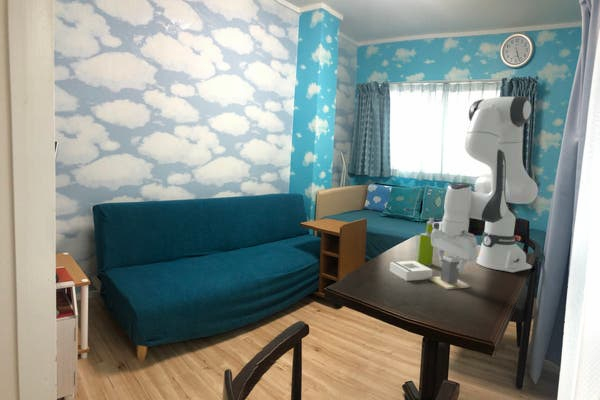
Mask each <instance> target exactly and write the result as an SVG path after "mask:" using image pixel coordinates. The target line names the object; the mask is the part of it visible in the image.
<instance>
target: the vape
mask: <svg viewBox="0 0 600 400" xmlns="http://www.w3.org/2000/svg"><path fill="white" fill-rule="evenodd" d="M434 222H435V220H434V217H429V220H428V221H426V231H425V232H421V233H419V243H418V244H419V245H418V255H417V262H418V263H420V264H422V265H424V266H426V267H428V266H432V265H433V257H434V256H433V255H434V247H433V246H432V244H431V234H432V230H433V229H434V228H433V227H432V224H433V223H434Z"/></svg>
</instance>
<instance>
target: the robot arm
mask: <svg viewBox="0 0 600 400" xmlns="http://www.w3.org/2000/svg"><path fill="white" fill-rule="evenodd" d="M531 113H532V103H531V101H530V99H529V98H528V97H527V96H521V95H516V96H499V97H493V98H487V99H485V98H484V99H483V98H481V99H478V100H475V101H474V102H473V103H472V104H471V106H470V107H469V110H468V119H469V121H470V123H469V125H468V129H467V132H466V136H465V141H464V142H465V143H464V148H465V151H466V152H467V154H468V155H469V156H470V157H471V158H472V159H474V160H476V161H478V162H480V163H483V164H485V165H487V166H488V167H489V168H490V171H491V173H488V174H481V175H479V176H478V177H477V179H476V181H475V183H474V191H472V185H470V184H469V183H466V182H453V183H451V184H448V186H447V189H446V192H445V197H444V204H443V209H444V214H443V216H442V221H433V222H434V223H433V224H432V227H433V228H434V229H433V230H432V234H431V244H432V246H433V248H435V249H437V254H438V256H439V257H438V261H440V262H442V263H443V256H445V252H446V253H448V254H451V256H454V257H457V258H459V259H460V262H459V264H457V269H459V271H463V270H464V269H465V266H466V264H467V262H470V261H471V262H472V261H476V264H477V265H479V266H481V267H484V268H488V269H493V270H497V271H498V270H499V271H504V272H509V273H516V272H521V271H525V270H530V269H532V268H533V267H532V265H531V264H529V263H528V262H527V254H526V252H525V251H524V250H522V248H520V247H519V246H518V244H517V243H516V241H517V242H520V241H521V239H522V237H521V236H520V235H514V234H515V226H516V216H515V214H514V213H513V212H512V211H510V209H509V208H508V206H507V203H509V204H516V205H517V204H519V205H520V204H521V205H522V204H526V205H527V204H532V202H533V201H534V200H536V198H537V196H538V192H539V188H538V184H537V182H536V181H535V180H534V179H532V177H530V175H529V174H528V173H527V170H526V169H525V166H524V162H523V138H524V136H523V125H524V124H526V122H528V120H529V119H530V116H531ZM470 219H476V220H481V221H484V223H485V224H484V230H483V232H482V242H481V245H480V248H479V253H478V243H477V241H478V239H477V238H476V236H475V234H474V233H471V232H469V228H470V227H469V226H470V225H469V224H470Z"/></svg>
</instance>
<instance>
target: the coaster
mask: <svg viewBox="0 0 600 400" xmlns="http://www.w3.org/2000/svg"><path fill="white" fill-rule="evenodd" d="M428 281H431V282H432V283H434V284H435V285H438V286H439V287H441V288H444V289H445V290H456V289H465V288H470V286H471V285H470V284H468V283H466V282H464V281H462V280H460V279H457V283H449V284H448V283H446V282H444V281H442V280H441V275H440V276H432V277H429V279H428Z"/></svg>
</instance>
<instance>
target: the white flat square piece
mask: <svg viewBox="0 0 600 400" xmlns="http://www.w3.org/2000/svg"><path fill="white" fill-rule="evenodd" d="M389 271H390V273H393V274H394V275H396V276H398V277H399V278H401V279H402V280H404V281H406V282H409V281H420V280H421V281H422V280H429V277H433V269H431V268H429V267H428V266H427V265H423V264H420V263H418V261H416V260H407V261H406V260H404V261H402V260H401V261H394V260H393V261H391V262H390V263H389Z"/></svg>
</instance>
